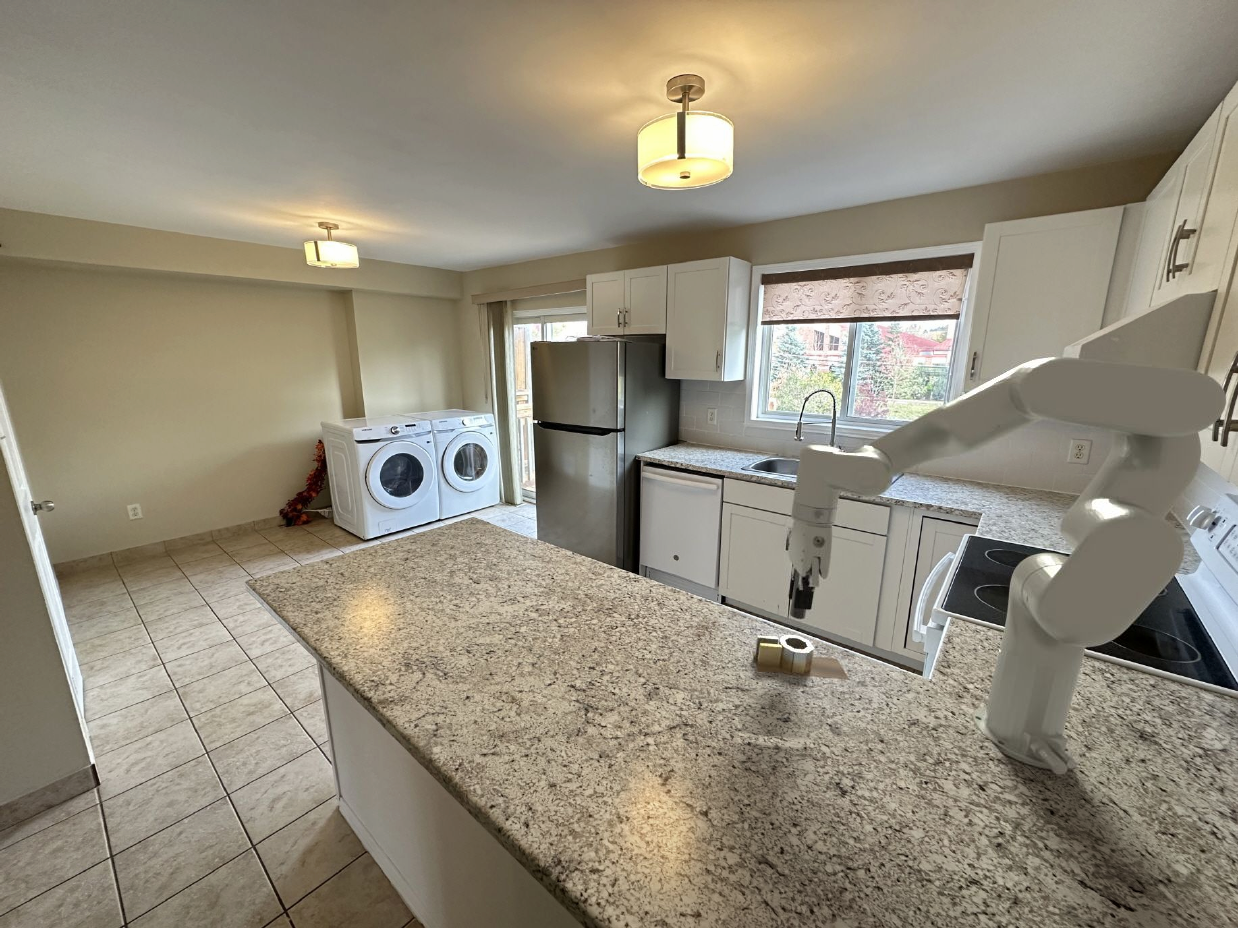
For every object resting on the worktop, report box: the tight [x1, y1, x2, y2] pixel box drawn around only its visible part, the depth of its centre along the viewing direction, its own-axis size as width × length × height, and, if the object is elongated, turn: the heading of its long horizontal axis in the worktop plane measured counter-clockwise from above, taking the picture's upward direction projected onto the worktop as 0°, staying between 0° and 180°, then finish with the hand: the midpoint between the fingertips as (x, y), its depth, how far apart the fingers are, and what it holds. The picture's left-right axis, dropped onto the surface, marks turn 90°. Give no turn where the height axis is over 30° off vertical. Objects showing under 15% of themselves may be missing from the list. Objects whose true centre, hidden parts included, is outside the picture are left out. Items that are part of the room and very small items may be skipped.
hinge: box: [754, 634, 815, 674], centre depth 94 cm, size 6×10×4 cm, turn 85°
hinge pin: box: [789, 570, 810, 620], centre depth 92 cm, size 3×3×9 cm
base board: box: [751, 650, 850, 680], centre depth 94 cm, size 7×17×1 cm, turn 85°
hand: (799, 603), depth 92 cm, fingers closed on hinge pin, 2 cm apart
